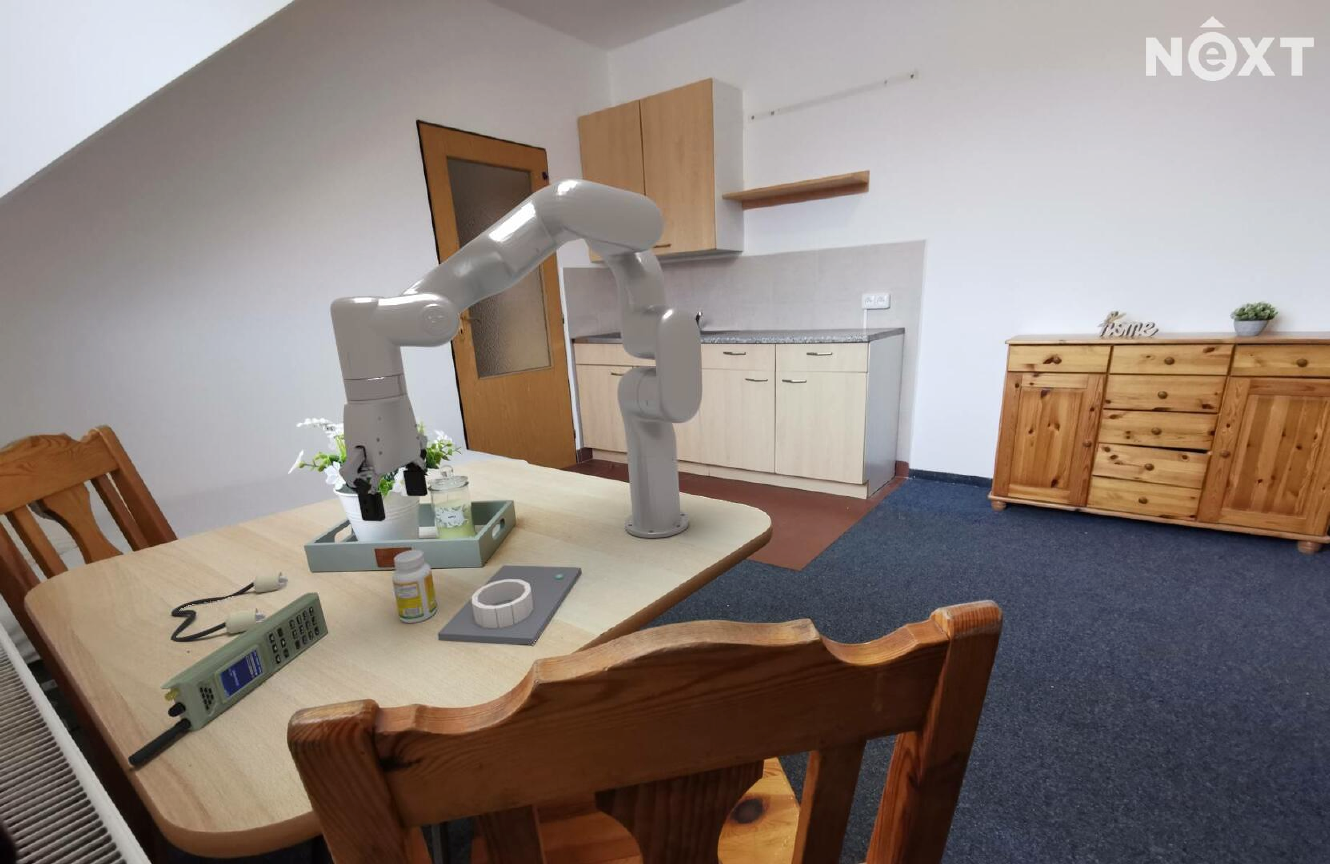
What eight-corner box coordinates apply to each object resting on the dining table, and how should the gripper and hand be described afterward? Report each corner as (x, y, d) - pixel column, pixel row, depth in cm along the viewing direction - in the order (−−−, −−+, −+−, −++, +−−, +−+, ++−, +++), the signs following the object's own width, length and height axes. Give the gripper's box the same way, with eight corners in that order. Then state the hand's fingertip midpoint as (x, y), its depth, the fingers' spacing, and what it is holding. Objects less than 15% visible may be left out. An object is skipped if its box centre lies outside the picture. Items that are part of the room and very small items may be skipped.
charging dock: (504, 570, 97) (501, 549, 96) (581, 573, 95) (579, 551, 94) (438, 639, 78) (434, 614, 77) (533, 645, 75) (529, 618, 75)
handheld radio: (333, 633, 82) (148, 774, 58) (314, 633, 83) (124, 772, 59) (322, 592, 80) (127, 719, 57) (303, 591, 81) (103, 717, 58)
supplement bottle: (410, 628, 82) (398, 567, 79) (393, 616, 85) (381, 558, 83) (444, 611, 85) (434, 553, 83) (427, 600, 89) (417, 544, 87)
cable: (134, 662, 78) (127, 640, 78) (181, 607, 93) (175, 588, 92) (266, 631, 84) (260, 611, 83) (290, 584, 99) (286, 566, 98)
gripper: (392, 380, 86) (410, 487, 90) (302, 401, 70) (329, 531, 73) (437, 379, 85) (453, 487, 89) (356, 400, 68) (380, 532, 72)
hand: (397, 507), depth 81 cm, fingers open, 9 cm apart
